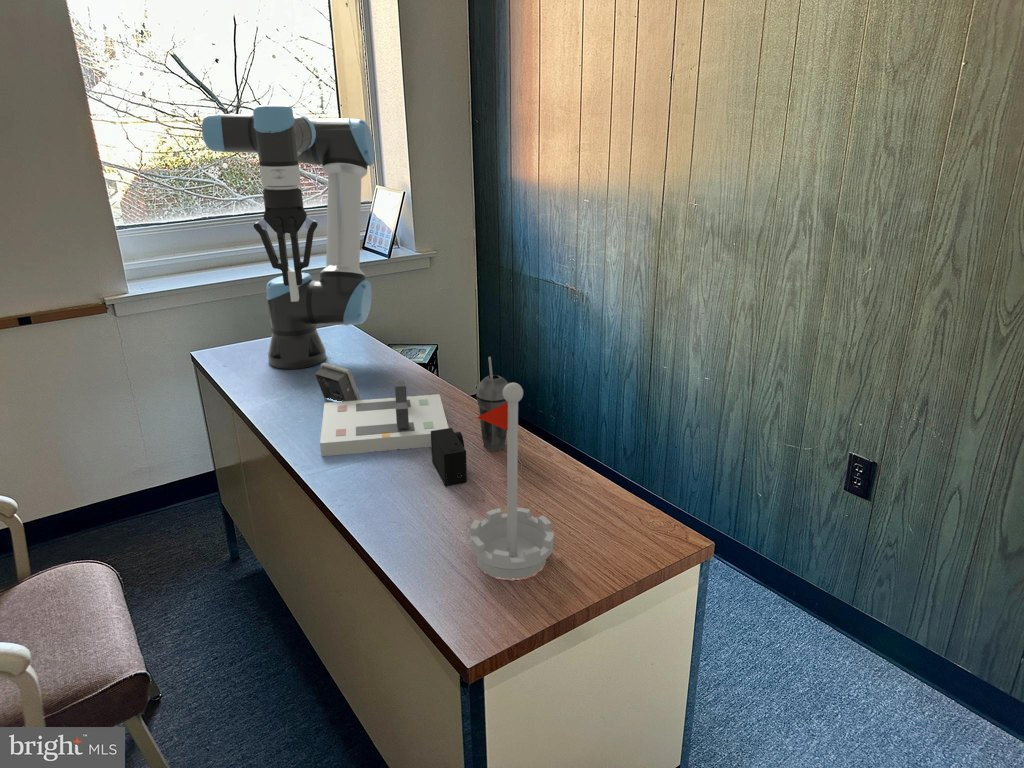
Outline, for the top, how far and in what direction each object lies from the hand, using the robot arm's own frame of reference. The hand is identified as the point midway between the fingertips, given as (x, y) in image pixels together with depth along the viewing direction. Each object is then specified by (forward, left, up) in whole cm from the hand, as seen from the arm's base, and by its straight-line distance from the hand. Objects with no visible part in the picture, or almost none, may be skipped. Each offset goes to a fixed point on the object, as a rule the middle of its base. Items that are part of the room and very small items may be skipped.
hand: (295, 299), depth 150 cm
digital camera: (+34, +29, -27) cm, 52 cm away
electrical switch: (-4, +7, -27) cm, 28 cm away
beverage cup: (+25, +39, -27) cm, 53 cm away
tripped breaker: (+19, +21, -23) cm, 36 cm away
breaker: (+7, +21, -23) cm, 32 cm away
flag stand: (+63, +35, -27) cm, 77 cm away
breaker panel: (+13, +17, -26) cm, 34 cm away
